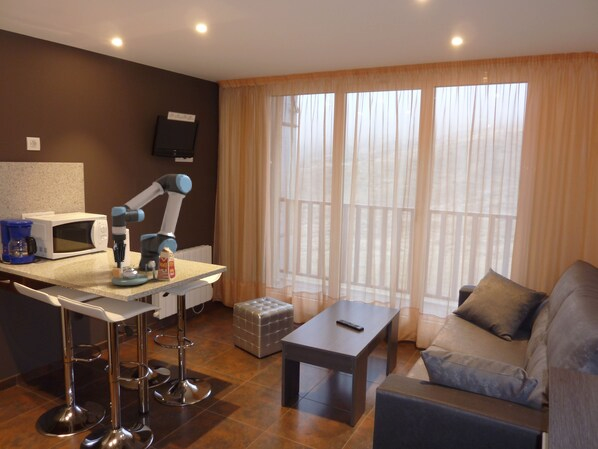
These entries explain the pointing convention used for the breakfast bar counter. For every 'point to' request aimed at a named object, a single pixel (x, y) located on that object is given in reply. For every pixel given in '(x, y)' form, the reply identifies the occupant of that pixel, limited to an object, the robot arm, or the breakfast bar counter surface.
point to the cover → (130, 274)
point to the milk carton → (166, 265)
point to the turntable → (120, 281)
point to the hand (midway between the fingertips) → (119, 273)
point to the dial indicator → (152, 265)
